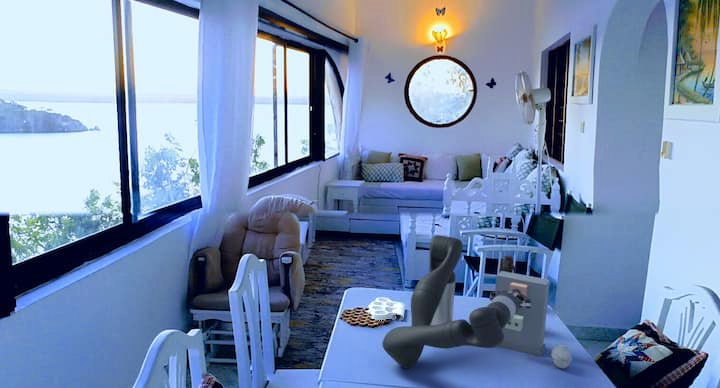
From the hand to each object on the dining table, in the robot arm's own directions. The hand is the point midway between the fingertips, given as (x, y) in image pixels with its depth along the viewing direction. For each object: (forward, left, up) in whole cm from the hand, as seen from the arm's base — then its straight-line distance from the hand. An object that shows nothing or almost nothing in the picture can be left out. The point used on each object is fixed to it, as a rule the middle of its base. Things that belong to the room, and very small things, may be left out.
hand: (516, 292), depth 168 cm
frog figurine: (+13, -8, -21) cm, 26 cm away
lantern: (+10, +43, -21) cm, 49 cm away
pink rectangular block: (+1, +2, -2) cm, 3 cm away
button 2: (0, 0, -12) cm, 12 cm away
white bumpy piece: (-40, +30, -22) cm, 55 cm away
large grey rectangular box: (+4, +6, -21) cm, 22 cm away
